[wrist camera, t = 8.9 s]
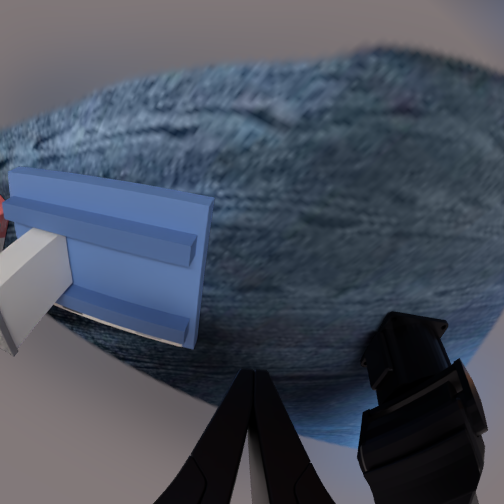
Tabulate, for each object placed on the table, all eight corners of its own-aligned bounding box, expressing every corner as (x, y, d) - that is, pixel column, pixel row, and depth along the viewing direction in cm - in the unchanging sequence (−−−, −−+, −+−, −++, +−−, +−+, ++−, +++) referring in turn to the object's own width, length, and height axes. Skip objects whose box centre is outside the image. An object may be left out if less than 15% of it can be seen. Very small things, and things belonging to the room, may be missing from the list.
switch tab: (65, 229, 20) (-13, 299, 12) (73, 283, 22) (14, 356, 14) (37, 222, 20) (-38, 283, 12) (47, 274, 22) (-13, 340, 14)
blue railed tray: (214, 197, 19) (203, 215, 17) (197, 337, 26) (188, 362, 23) (19, 166, 19) (-5, 177, 17) (39, 286, 26) (23, 303, 23)
